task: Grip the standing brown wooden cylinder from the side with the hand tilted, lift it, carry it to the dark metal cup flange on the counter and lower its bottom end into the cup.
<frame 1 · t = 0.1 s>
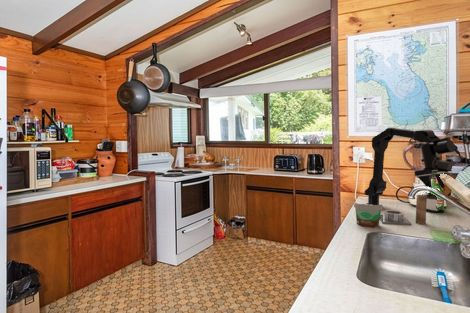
hand: (436, 189, 142), 15 cm above the worktop, tool pointing down, fingers open, 9 cm apart
bracket: (393, 220, 146), on the worktop
food container: (368, 226, 139), on the worktop
brown wooden cylinder: (420, 223, 141), on the worktop
spread jar: (430, 209, 164), on the worktop
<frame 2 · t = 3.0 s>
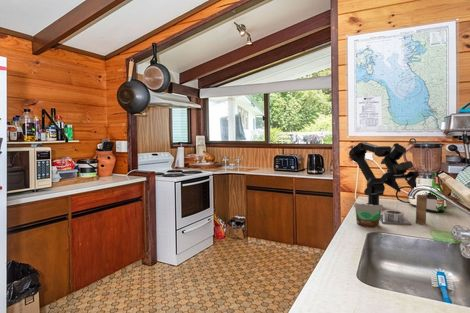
hand: (408, 191, 148), 13 cm above the worktop, tool tilted 45°, fingers open, 9 cm apart
nothing on the worktop moved.
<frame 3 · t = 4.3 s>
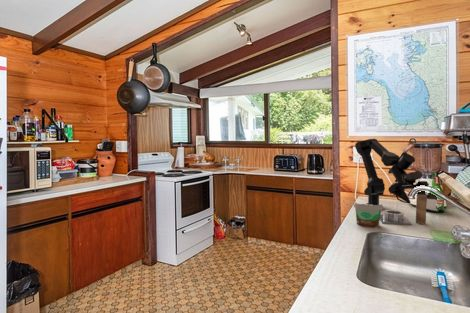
hand: (417, 202, 143), 9 cm above the worktop, tool tilted 45°, fingers open, 9 cm apart
nothing on the worktop moved.
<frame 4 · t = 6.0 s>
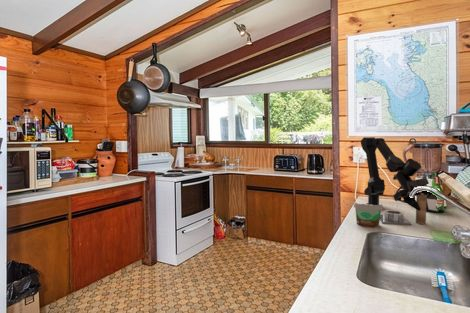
hand: (423, 209, 140), 7 cm above the worktop, tool tilted 45°, fingers closed on brown wooden cylinder, 4 cm apart
brown wooden cylinder: (420, 223, 141), on the worktop, touching gripper
everything else where it was.
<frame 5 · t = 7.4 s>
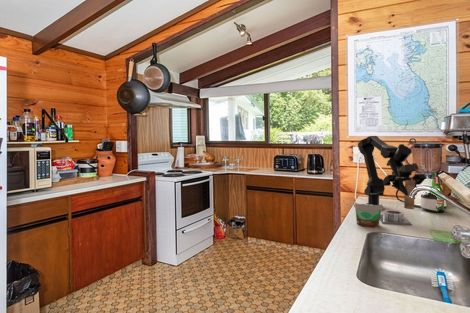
hand: (411, 194, 141), 13 cm above the worktop, tool tilted 45°, fingers closed on brown wooden cylinder, 4 cm apart
brown wooden cylinder: (409, 208, 143), point 7 cm above the worktop, touching gripper
everything else where it was.
when the fingers open (9 cm above the worktop, at t = 9.2 s): brown wooden cylinder drops 2 cm, resting on bracket.
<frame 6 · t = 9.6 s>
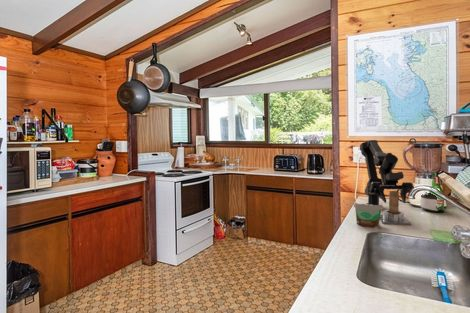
hand: (395, 202, 144), 9 cm above the worktop, tool tilted 45°, fingers open, 8 cm apart
brown wooden cylinder: (393, 218, 146), point 1 cm above the worktop, touching bracket
everything else where it was.
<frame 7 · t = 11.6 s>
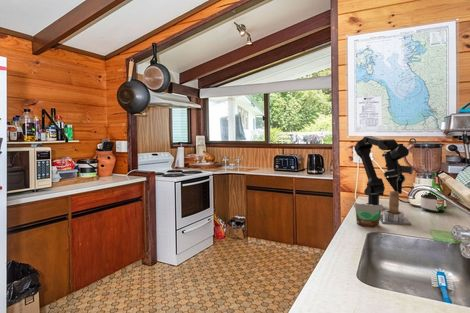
hand: (398, 192, 152), 12 cm above the worktop, tool tilted 25°, fingers open, 9 cm apart
nothing on the worktop moved.
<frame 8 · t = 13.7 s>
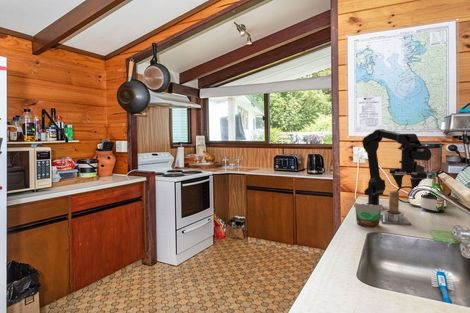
hand: (406, 190, 153), 13 cm above the worktop, tool pointing down, fingers open, 9 cm apart
nothing on the worktop moved.
at the end: brown wooden cylinder 0.1 cm off-centre on the bracket, point 0.8 cm above the bracket's base; brown wooden cylinder tilted 1°; the gripper is holding nothing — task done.
